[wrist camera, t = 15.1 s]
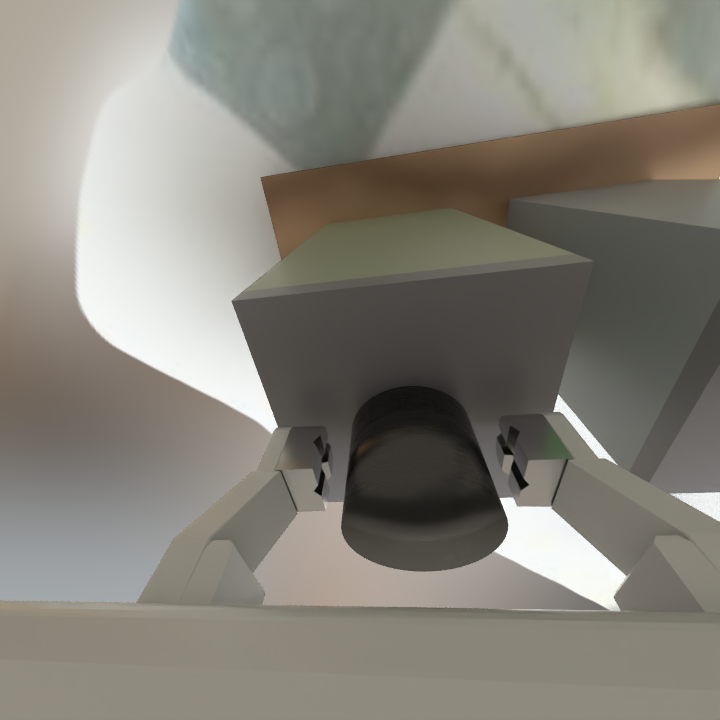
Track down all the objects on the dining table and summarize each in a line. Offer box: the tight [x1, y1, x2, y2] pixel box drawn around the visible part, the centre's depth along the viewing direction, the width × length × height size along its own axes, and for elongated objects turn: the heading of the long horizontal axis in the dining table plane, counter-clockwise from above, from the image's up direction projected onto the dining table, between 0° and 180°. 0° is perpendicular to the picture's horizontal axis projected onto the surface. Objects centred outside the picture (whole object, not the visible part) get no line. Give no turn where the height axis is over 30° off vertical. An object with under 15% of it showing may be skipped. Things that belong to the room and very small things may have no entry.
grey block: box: [506, 179, 720, 493], centre depth 15 cm, size 9×9×16 cm
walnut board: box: [261, 104, 720, 260], centre depth 23 cm, size 16×30×2 cm, turn 97°
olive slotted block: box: [232, 207, 595, 502], centre depth 17 cm, size 9×9×16 cm
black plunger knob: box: [341, 386, 508, 571], centre depth 15 cm, size 7×7×19 cm
